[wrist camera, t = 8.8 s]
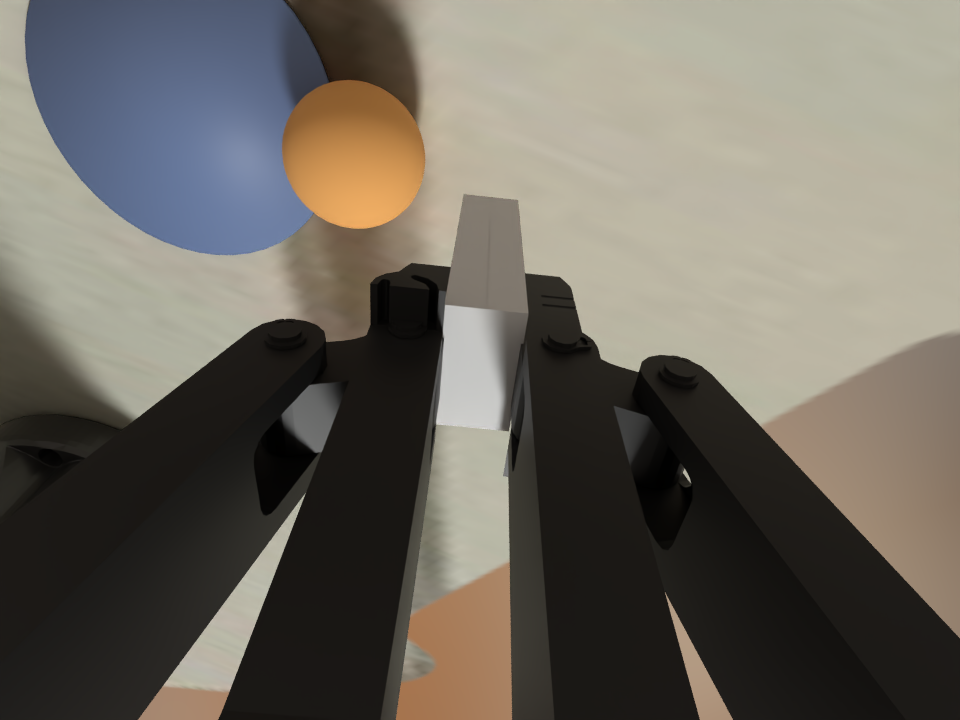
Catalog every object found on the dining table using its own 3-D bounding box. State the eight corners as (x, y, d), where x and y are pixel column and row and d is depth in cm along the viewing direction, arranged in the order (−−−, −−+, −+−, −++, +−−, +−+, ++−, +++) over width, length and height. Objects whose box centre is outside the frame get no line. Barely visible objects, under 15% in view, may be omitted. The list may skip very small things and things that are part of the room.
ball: (416, 263, 24) (331, 223, 26) (471, 139, 23) (378, 112, 26) (323, 219, 19) (230, 176, 21) (389, 62, 18) (285, 37, 21)
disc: (205, 298, 29) (203, 300, 29) (-33, 66, 24) (-37, 67, 24) (398, 156, 25) (397, 157, 25) (161, -171, 19) (158, -173, 19)
